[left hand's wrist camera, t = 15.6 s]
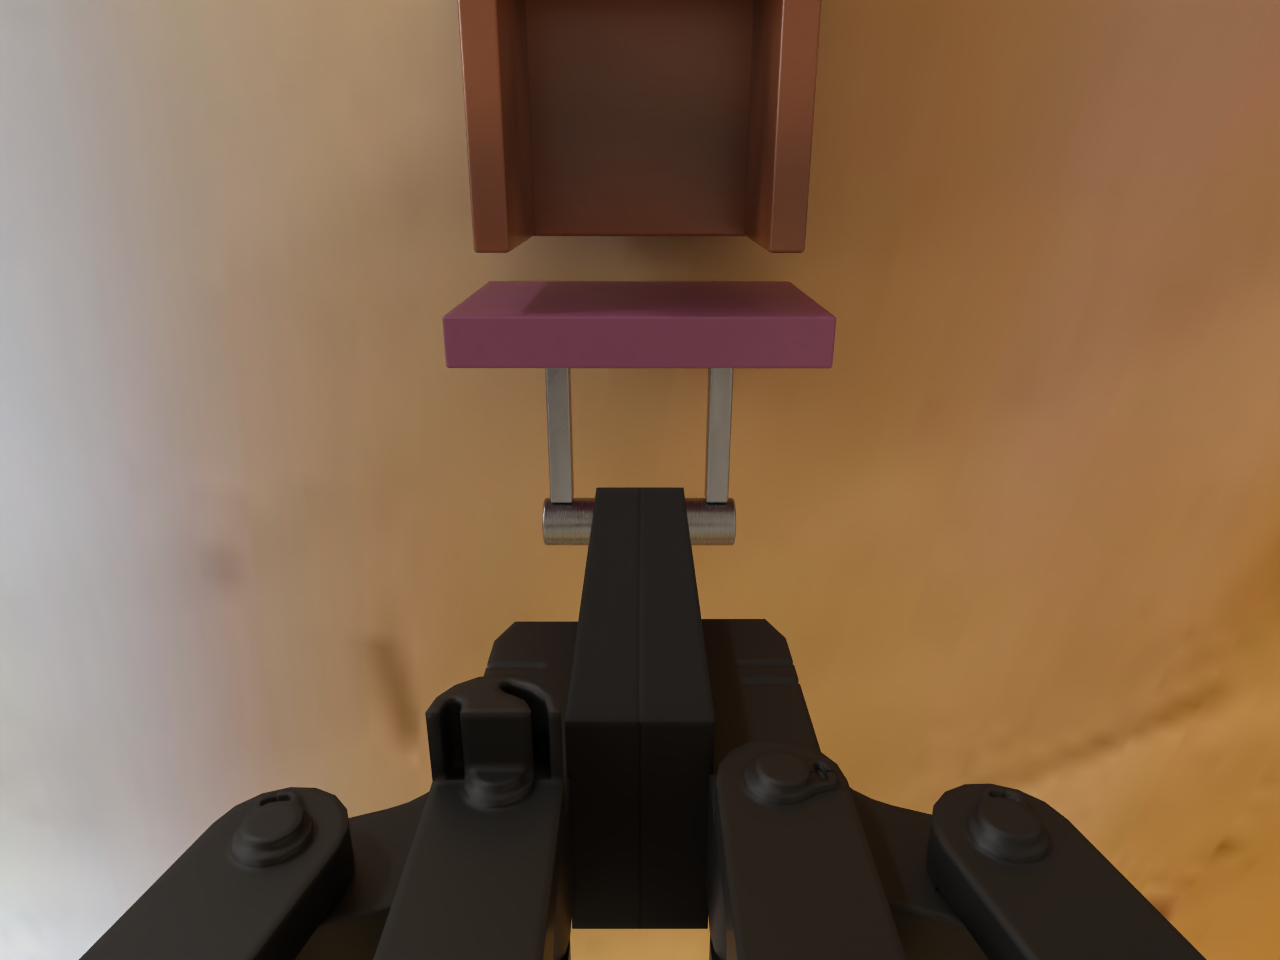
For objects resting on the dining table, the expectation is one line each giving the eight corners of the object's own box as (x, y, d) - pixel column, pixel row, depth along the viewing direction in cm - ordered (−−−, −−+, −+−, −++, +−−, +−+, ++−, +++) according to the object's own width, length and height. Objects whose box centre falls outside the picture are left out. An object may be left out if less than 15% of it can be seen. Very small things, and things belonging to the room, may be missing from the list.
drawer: (777, 491, 27) (815, 580, 21) (500, 490, 27) (462, 579, 21) (837, -472, 19) (924, -757, 13) (442, -473, 19) (355, -757, 13)
